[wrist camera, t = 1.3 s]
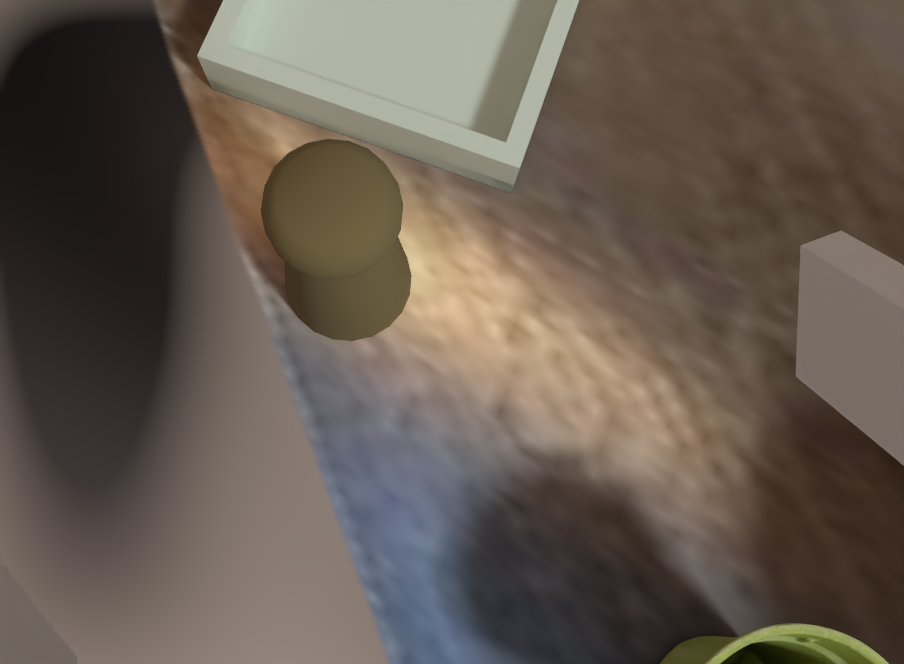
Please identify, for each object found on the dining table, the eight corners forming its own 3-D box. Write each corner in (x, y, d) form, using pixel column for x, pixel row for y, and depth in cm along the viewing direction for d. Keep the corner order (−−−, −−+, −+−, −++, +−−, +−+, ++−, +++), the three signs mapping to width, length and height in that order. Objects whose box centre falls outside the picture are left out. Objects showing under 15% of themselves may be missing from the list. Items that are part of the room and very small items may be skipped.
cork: (260, 298, 39) (206, 216, 28) (330, 198, 40) (304, 83, 29) (368, 364, 38) (354, 307, 28) (434, 261, 40) (446, 168, 29)
